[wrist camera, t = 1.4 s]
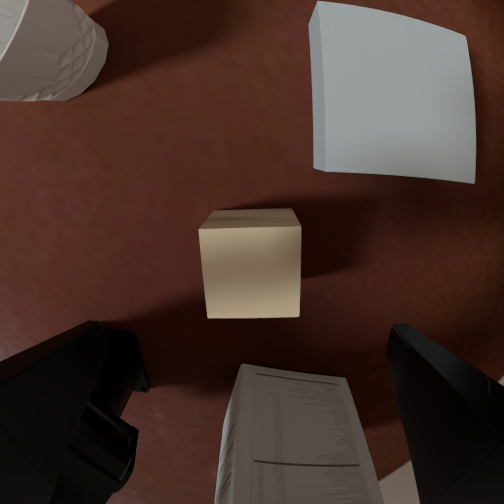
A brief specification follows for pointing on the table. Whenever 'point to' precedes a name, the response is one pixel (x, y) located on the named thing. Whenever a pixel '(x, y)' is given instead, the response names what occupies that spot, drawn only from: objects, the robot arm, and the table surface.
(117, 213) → the table surface
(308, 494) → the supplement box
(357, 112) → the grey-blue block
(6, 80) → the white cup
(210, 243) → the birch cube
